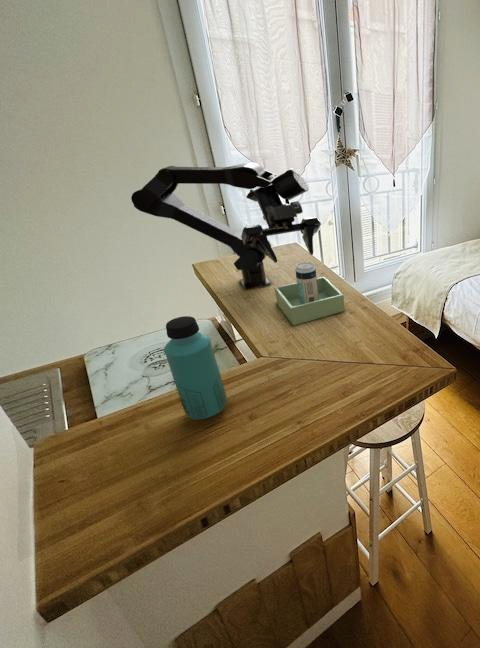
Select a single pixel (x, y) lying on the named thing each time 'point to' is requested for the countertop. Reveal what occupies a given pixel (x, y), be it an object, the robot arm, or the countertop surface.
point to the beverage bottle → (194, 369)
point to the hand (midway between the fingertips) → (294, 258)
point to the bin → (296, 313)
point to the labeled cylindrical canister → (307, 283)
